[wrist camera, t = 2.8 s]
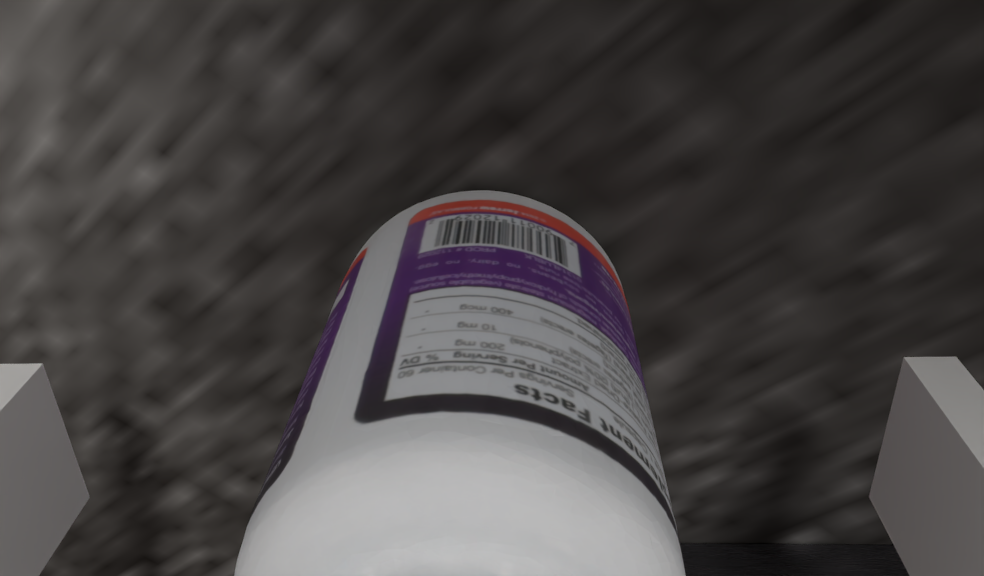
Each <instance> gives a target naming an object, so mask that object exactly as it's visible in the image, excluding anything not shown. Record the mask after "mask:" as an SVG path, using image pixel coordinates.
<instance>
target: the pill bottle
mask: <svg viewBox="0 0 984 576" xmlns="http://www.w3.org/2000/svg"><path fill="white" fill-rule="evenodd" d="M234 576H686V574H685V569H684V563H683V558H682V552H681V546H680V541H679V537H678V533H677V527H676V523H675V519H674V515H673V511H672V506H671V501H670V497H669V492H668V488H667V484H666V479H665V475H664V470H663V466H662V462H661V457H660V452H659V448H658V444H657V439H656V434H655V430H654V425H653V421H652V417H651V412H650V407H649V402H648V398H647V393H646V388H645V384H644V379H643V374H642V370H641V365H640V360H639V356H638V351H637V347H636V342H635V337H634V333H633V328H632V323H631V317H630V312H629V308H628V304H627V301H626V298H625V295H624V291H623V288H622V284H621V282H620V279H619V277H618V275H617V272H616V270H615V268H614V266H613V264H612V263H611V261H610V259H609V257H608V256H607V254H606V253H605V252H604V250H603V249H602V247H601V246H600V245H599V244H598V242H597V241H596V240H595V239H594V238H593V237H592V236H591V235H590V234H589V233H588V232H587V231H586V230H585V229H584V228H583V227H582V226H580V225H579V224H578V223H576V222H575V221H574V220H572V219H571V218H570V217H568V216H567V215H565V214H563V213H561V212H560V211H558V210H556V209H554V208H552V207H550V206H548V205H546V204H543V203H541V202H538V201H536V200H533V199H530V198H528V197H524V196H520V195H516V194H512V193H506V192H500V191H490V190H475V191H462V192H455V193H450V194H445V195H441V196H438V197H434V198H431V199H428V200H425V201H423V202H420V203H417V204H415V205H413V206H411V207H410V208H408V209H406V210H404V211H402V212H400V213H399V214H397V215H396V216H394V217H393V218H391V219H390V220H389V221H387V222H386V223H385V224H383V225H382V226H381V227H380V228H379V229H378V230H377V231H376V232H375V233H374V234H373V235H372V236H371V237H370V238H369V240H368V241H367V242H366V243H365V244H364V246H363V247H362V248H361V250H360V251H359V252H358V254H357V256H356V257H355V259H354V261H353V263H352V264H351V266H350V268H349V270H348V272H347V274H346V275H345V277H344V279H343V281H342V284H341V286H340V288H339V291H338V294H337V297H336V299H335V302H334V305H333V307H332V309H331V312H330V315H329V318H328V320H327V323H326V326H325V328H324V331H323V334H322V336H321V339H320V341H319V344H318V347H317V349H316V352H315V354H314V357H313V359H312V362H311V364H310V367H309V369H308V372H307V375H306V377H305V380H304V382H303V385H302V388H301V390H300V393H299V395H298V398H297V400H296V403H295V405H294V408H293V410H292V413H291V415H290V417H289V420H288V423H287V425H286V428H285V431H284V433H283V436H282V438H281V441H280V444H279V446H278V449H277V451H276V454H275V456H274V459H273V461H272V464H271V466H270V469H269V471H268V474H267V476H266V479H265V481H264V484H263V486H262V489H261V491H260V494H259V496H258V498H257V501H256V503H255V506H254V508H253V511H252V514H251V517H250V520H249V522H248V525H247V528H246V532H245V536H244V539H243V542H242V545H241V549H240V552H239V555H238V559H237V563H236V568H235V574H234Z"/></svg>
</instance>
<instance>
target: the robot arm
mask: <svg viewBox="0 0 984 576" xmlns="http://www.w3.org/2000/svg"><path fill="white" fill-rule="evenodd" d="M89 498H90V496H89V493H88V491H87V488H86V485H85V482H84V479H83V476H82V473H81V471H80V468H79V465H78V462H77V459H76V456H75V454H74V451H73V448H72V445H71V442H70V439H69V436H68V434H67V431H66V428H65V425H64V422H63V419H62V417H61V414H60V411H59V408H58V405H57V402H56V399H55V397H54V394H53V391H52V388H51V385H50V382H49V380H48V377H47V374H46V371H45V368H44V365H43V364H0V576H39V575H40V573H41V572H42V570H43V569H44V567H45V565H46V564H47V562H48V561H49V559H50V558H51V556H52V555H53V553H54V552H55V550H56V549H57V547H58V545H59V544H60V542H61V541H62V539H63V538H64V536H65V535H66V533H67V532H68V530H69V528H70V527H71V525H72V524H73V522H74V521H75V519H76V518H77V516H78V515H79V513H80V512H81V510H82V508H83V507H84V505H85V504H86V502H87V501H88V499H89ZM869 498H870V500H871V502H872V504H873V506H874V508H875V510H876V512H877V514H878V516H879V518H880V520H881V521H882V523H883V525H884V527H885V529H886V531H887V533H888V535H889V537H890V539H891V541H892V543H893V545H894V547H895V548H896V550H897V552H898V554H899V556H900V558H901V560H902V562H903V564H904V566H905V568H906V570H907V572H908V574H909V576H984V390H983V389H982V387H981V386H980V385H979V384H978V383H977V381H976V380H975V379H974V378H973V376H972V375H971V374H970V373H969V372H968V370H967V369H966V368H965V367H964V365H963V364H962V363H961V362H960V361H959V359H958V358H957V357H903V361H902V365H901V370H900V374H899V378H898V382H897V386H896V390H895V394H894V398H893V402H892V406H891V410H890V414H889V418H888V422H887V426H886V430H885V434H884V438H883V442H882V446H881V450H880V454H879V458H878V462H877V466H876V470H875V474H874V478H873V482H872V486H871V490H870V494H869Z"/></svg>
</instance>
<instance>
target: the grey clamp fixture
mask: <svg viewBox="0 0 984 576" xmlns="http://www.w3.org/2000/svg"><path fill="white" fill-rule="evenodd" d="M680 546H681V552H682V558H683V563H684V569H685V574H686V576H909V574H908V572H907V570H906V568H905V566H904V564H903V562H902V560H901V558H900V556H899V554H898V552H897V550H896V548H895V547H894V545H792V544H680Z"/></svg>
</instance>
